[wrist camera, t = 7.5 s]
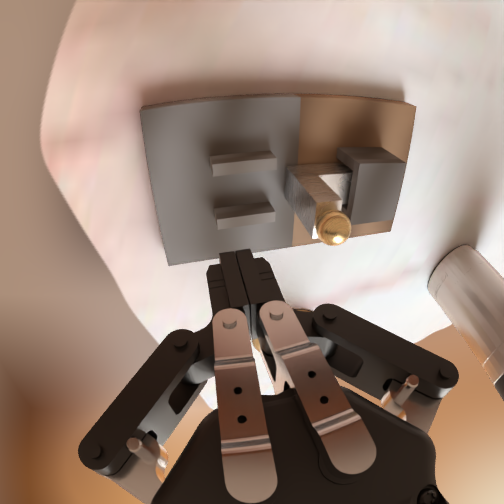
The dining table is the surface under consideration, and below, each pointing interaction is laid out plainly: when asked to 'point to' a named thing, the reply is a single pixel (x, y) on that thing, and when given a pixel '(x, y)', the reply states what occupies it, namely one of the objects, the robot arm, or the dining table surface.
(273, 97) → the lock plate
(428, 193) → the dining table surface
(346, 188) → the bolt
